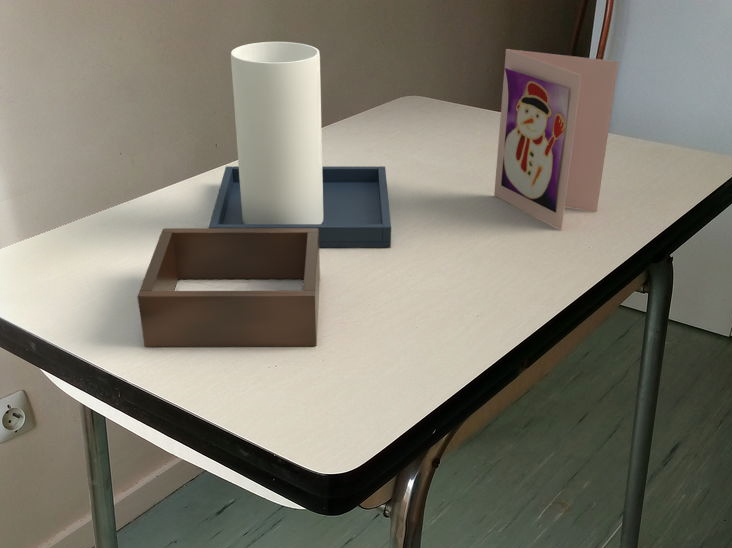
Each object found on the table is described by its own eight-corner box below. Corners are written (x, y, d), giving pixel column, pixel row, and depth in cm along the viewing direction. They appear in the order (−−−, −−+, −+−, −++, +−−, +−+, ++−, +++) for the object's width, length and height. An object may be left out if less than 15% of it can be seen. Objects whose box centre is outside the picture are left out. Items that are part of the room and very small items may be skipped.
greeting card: (487, 196, 110) (499, 50, 101) (541, 184, 113) (556, 41, 104) (554, 231, 102) (573, 76, 93) (610, 218, 105) (633, 66, 96)
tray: (210, 247, 98) (208, 227, 97) (227, 185, 112) (225, 166, 111) (390, 247, 98) (391, 227, 97) (384, 185, 113) (385, 166, 111)
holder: (144, 347, 82) (137, 296, 79) (168, 274, 93) (162, 227, 90) (316, 346, 82) (315, 295, 79) (319, 274, 93) (318, 227, 91)
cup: (274, 241, 98) (265, 67, 88) (226, 217, 103) (213, 50, 93) (339, 221, 102) (337, 53, 93) (290, 198, 107) (283, 37, 98)
